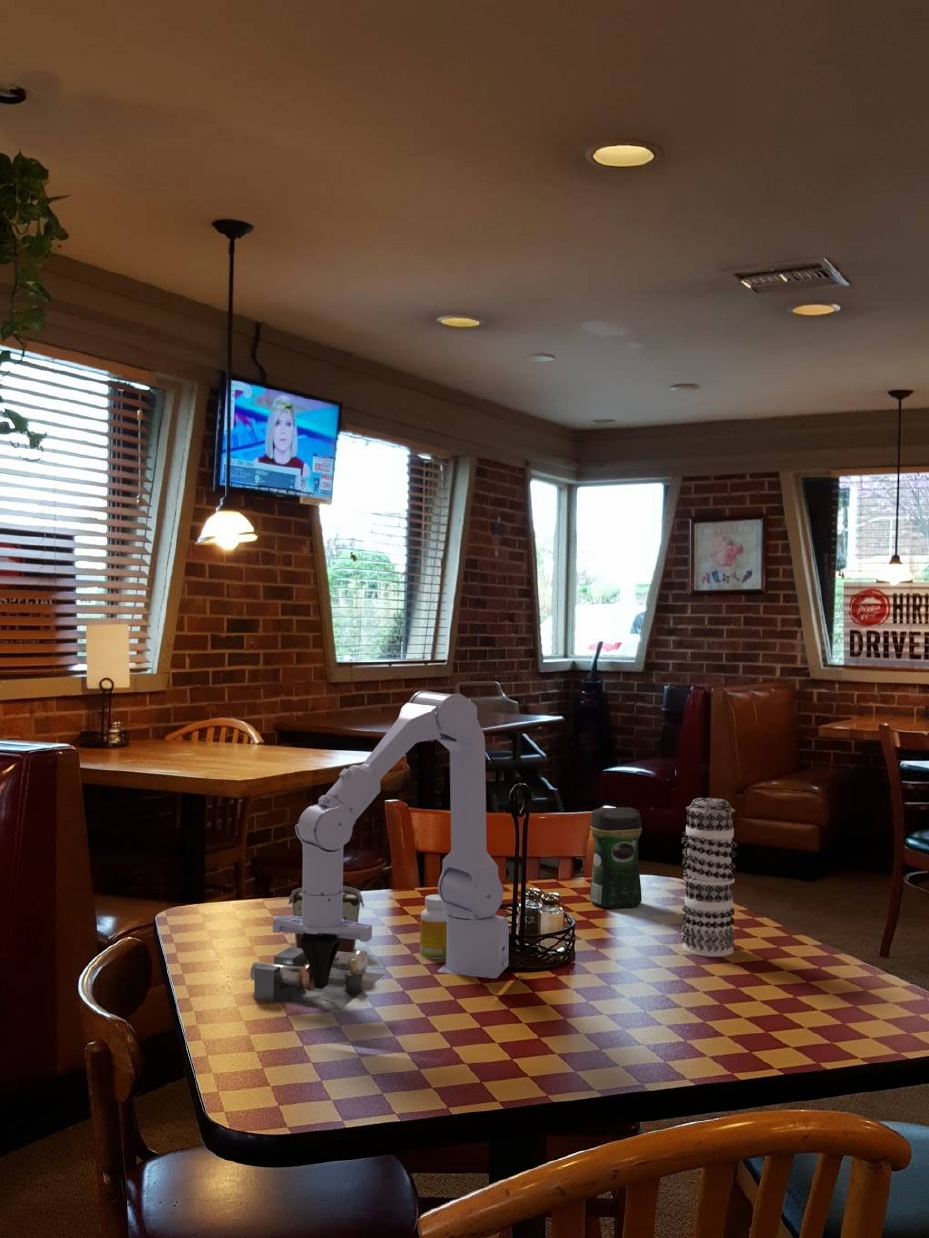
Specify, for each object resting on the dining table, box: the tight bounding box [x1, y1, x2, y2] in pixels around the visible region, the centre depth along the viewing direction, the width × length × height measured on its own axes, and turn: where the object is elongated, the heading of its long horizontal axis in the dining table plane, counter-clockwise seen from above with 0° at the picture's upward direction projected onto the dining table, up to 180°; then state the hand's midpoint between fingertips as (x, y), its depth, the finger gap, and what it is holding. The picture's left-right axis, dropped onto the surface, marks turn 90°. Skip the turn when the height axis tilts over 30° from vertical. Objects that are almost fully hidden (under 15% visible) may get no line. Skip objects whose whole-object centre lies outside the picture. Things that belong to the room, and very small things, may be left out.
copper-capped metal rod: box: [250, 961, 315, 991], centre depth 167 cm, size 9×4×4 cm, turn 73°
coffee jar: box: [589, 807, 643, 909], centre depth 224 cm, size 10×8×19 cm
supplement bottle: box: [419, 894, 447, 960], centre depth 188 cm, size 5×5×10 cm
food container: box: [288, 885, 365, 953], centre depth 191 cm, size 12×6×10 cm, turn 84°
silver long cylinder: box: [307, 949, 369, 976], centre depth 174 cm, size 9×4×4 cm, turn 73°
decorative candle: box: [681, 797, 738, 958], centre depth 194 cm, size 9×9×25 cm
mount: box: [253, 946, 385, 1011], centre depth 170 cm, size 13×17×5 cm
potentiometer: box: [344, 959, 363, 993], centre depth 169 cm, size 3×3×4 cm
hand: (321, 986), depth 165 cm, fingers closed
